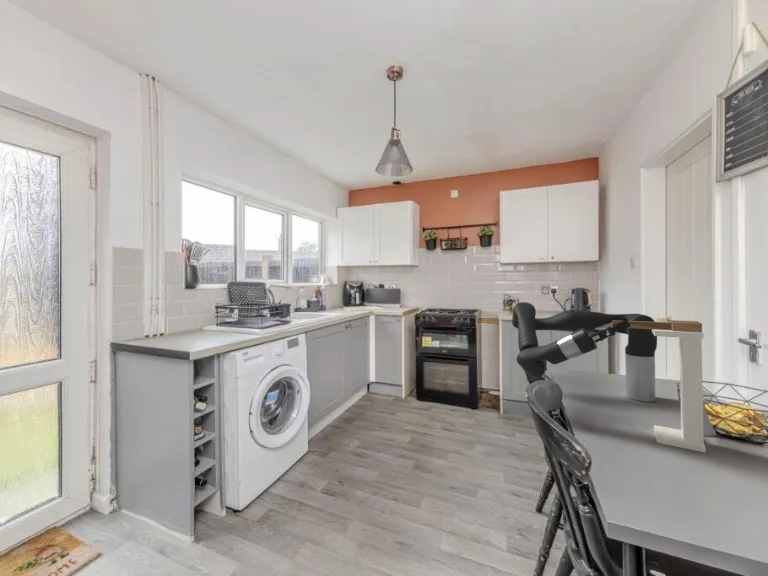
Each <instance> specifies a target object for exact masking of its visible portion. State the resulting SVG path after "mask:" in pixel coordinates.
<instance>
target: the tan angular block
mask: <svg viewBox="0 0 768 576" xmlns="http://www.w3.org/2000/svg"><path fill="white" fill-rule="evenodd" d="M619 322H622V321H617V320H612V325H613V326H614V325H615V324H617V323H619ZM628 322H629V324H630V327H628V328H636V329H658V330H672V331H682V332H702V333H703V324H702V322H700V321H698V320H676V319H675V320H674V319H673V320H672V319H670V320H669V321H655V322H646V321H628Z"/></svg>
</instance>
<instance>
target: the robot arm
mask: <svg viewBox="0 0 768 576" xmlns="http://www.w3.org/2000/svg"><path fill="white" fill-rule="evenodd" d="M536 313H537V312H536V308H535V306H534V304H532V303H529V302H525V301H522V302H521V301H520V302H518V303H516V304H514V307H513V308H512V319H511V324H512V326H513V327H514V328H516V329H517V331H518V334H517V335H518V336H517V340H518V341H517V343H518V344H517V345H518V350H519V353H518V354H517V356H516V363H517V364H518V366H520V367H521V369H522V370H523V371H524V372H525V373H526V374H527V375H528V376H529V377H531V378H533V379H534V378H535V379H537V378H541V377H542V376H544V374H545V373H546V371H547V364H546V361H547V362H548V363H550V364H552V365H558V364H560V363H563V362H566V361H568V360H571V359H574V358H575V359H576V358H577V357H581V356H583V355H585V354H588V353H591V352H592V351H595V350H597V349H598V346H597V343H599V342H601V341H602V342H603V341H605V340H606V339H610V338H611V337H613V336H615V335H617V334H624V335H627V345H626V346H625V348H624V355H625V356H624V357H625V358H624V359H625V363H624V364H625V396H626V397H627V398H628V399H631V400H635V401H639V402H651V403H652V402H656V401H657V400H656V399H657V395H656V394H657V392H656V389H657V387H656V356H655V355H656V350H657V346H658V336H654V334H653V332H652V329H636V328H628V327H630V324H629V322H628V321H646V322H656V321H655V320H654V318H652V317H651V316H649V315H646V314H640V313H622V314H621V313H618V314H617V313H616V314H615V313H614V314H613V313H611V314H610V313H602V312H596V311H591V310H590V311H589V310H576V309H569V310H568V309H567V310H564V311H562V312H559V313H556V314H555V315H553V316H549V317H548V316H547V317H543V318H540V317H539V318H536ZM612 320H617V321H622V322H619V323H617V324H615V325H614V326H613V325H612ZM537 331H557V332H559V331H562V332H570V333H567V334H566V335H564V336H562V337H560V338H559V339H557V340H555V341H553V342H550V343H548V344H546V345H545V344H544V345H539V341H538V336H537Z"/></svg>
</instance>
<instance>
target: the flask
mask: <svg viewBox="0 0 768 576" xmlns="http://www.w3.org/2000/svg"><path fill="white" fill-rule="evenodd" d="M706 403H707V400H706V399H705V398H703V433H704V436H706V437H712V436H717V433H716V431H715V428H714V426H713V425H712V422H711V419H710V418H709V416H708V415H709V414H707V410H706Z"/></svg>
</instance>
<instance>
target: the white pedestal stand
mask: <svg viewBox="0 0 768 576" xmlns="http://www.w3.org/2000/svg"><path fill="white" fill-rule="evenodd" d="M652 332H653V334H654V336H657V337H665V338H666V337H667V338H678V339H679V340H678V341H679V342H678V343H679V344H678V345H679V389H680V392H679V393H680V429H678V428H672V427H666V426H663V425H662V426H661V425H655V424H653V431H654V435H655V440H656V443H657V444H662V445H666V446H672V447H676V448H681V449H686V450H691V451H696V452H701V453H704V454H705V453H706V452H707V451H706V450H707V449H706V445H705V442H704V438H705V437H704V436H705V435H704V433H703V399H704V397H703V389H704V387H703V351H702V350H703V348H702V342H703V341H702V339H704V333H703V331H702V332H682V331H672V330H658V329H652Z"/></svg>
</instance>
